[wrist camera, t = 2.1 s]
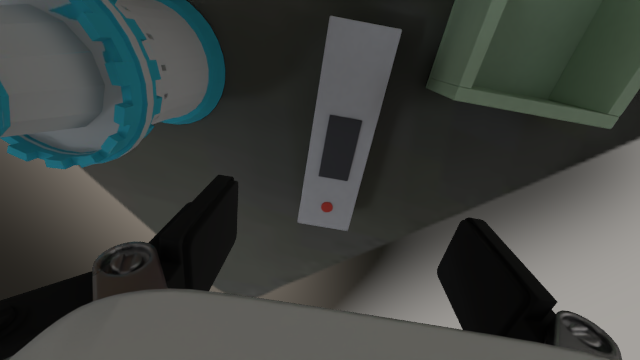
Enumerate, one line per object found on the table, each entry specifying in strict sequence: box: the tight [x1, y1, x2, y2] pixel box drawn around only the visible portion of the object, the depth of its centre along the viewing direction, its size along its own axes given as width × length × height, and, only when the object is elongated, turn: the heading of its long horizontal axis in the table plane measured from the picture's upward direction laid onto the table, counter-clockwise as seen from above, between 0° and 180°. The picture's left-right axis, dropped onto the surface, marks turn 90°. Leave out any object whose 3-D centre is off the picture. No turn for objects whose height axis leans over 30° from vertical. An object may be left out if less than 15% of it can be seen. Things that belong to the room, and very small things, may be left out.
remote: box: [298, 16, 402, 231], centre depth 21 cm, size 16×5×3 cm, turn 170°
